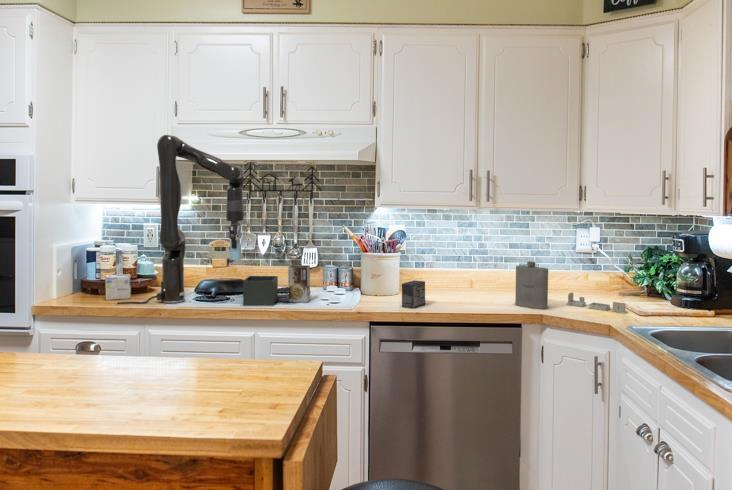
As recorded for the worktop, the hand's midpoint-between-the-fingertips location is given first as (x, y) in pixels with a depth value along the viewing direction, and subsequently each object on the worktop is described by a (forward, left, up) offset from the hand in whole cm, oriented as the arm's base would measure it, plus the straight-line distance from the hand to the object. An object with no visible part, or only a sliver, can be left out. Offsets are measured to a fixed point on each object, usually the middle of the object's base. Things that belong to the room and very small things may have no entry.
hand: (235, 247), depth 277 cm
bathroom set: (+161, -9, -25) cm, 163 cm away
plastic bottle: (0, 0, -5) cm, 5 cm away
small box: (+80, -5, -25) cm, 84 cm away
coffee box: (+28, +4, -25) cm, 38 cm away
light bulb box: (-57, +8, -25) cm, 63 cm away
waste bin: (+11, 0, -25) cm, 27 cm away
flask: (+132, -6, -25) cm, 135 cm away
